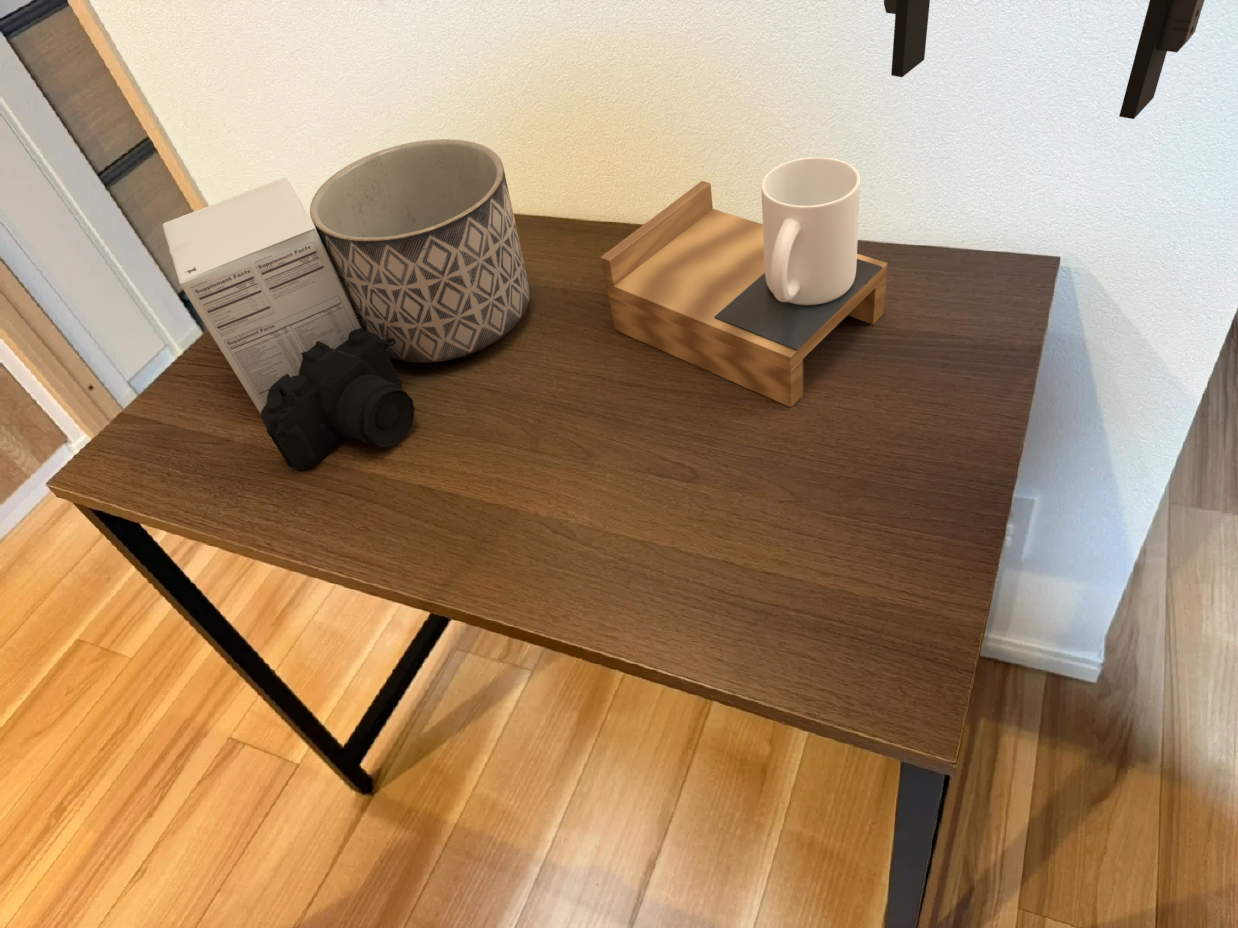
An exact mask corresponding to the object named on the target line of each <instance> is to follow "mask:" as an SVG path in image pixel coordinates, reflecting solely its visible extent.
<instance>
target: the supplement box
mask: <svg viewBox="0 0 1238 928" xmlns="http://www.w3.org/2000/svg"><path fill="white" fill-rule="evenodd" d="M162 229H163V232H164V236H165V238H166V239H165V240H166V242H167V245H168V249H169V254H170V255H171V259H172V262H173V265H174V269H175V272H176V276H177V279H178V283H179V285H180V287H181V288H182V290H183V292H184V294H185V295H186V297H187V298H188V300H189V301H190V303H191V305H192V306H193V308H194V310H195V311H196V313H197V314H198V317H199V318H200V319H201V321H202V323H203V324H204V326H205V327H206V329H207V331H208V332H209V334H210V335H211V337H212V339H213V340H214V342H215V343H216V345H217V346H218V348H219V350H220V351H221V352H222V354H223V356H224V357H225V359H226V361H227V362H228V364H229V366H230V367H231V369H232V371H233V372H234V374H235V375H236V377H237V378H238V380H239V382H240V383H241V385H242V386H243V389H244V390H245V391H246V393H247V395H248V396H249V397H250V400H251V401H252V403H253V405H254V406H255V408H256V410H257V411H258V412H259V415H261V411H262V409H263V408H264V406H265V405H266V401H267V395H268V392H269V389H270V388H271V386H272V385H273V384H274V383H276V382H277V381H278V380H279V379H280V378H281V377H283V376H284V375H286V374H288V375H289V376H290V377H292V376H296V375H299V370H300V366H301V363H302V359H303V357H302V355H301V353H303V352H304V351H305V352H307V351H308V350H309V349H311V348H312V347H313V346H314V345H315V344H316V342H317V341H319V342H322V343H324V344H326V345H328V346H329V347H330V348H333V349H336V348H337V347H338V346H339V345H341V344H343V343H344V342H345V341H347V340H348V336H349V334H350V332H351V331H353V330H355V329H360V328H362V327H361V324H360V322H359V320H358V318H357V316H356V314H355V312H354V309H353V307H352V305H351V303H350V301H349V299H348V296H347V294H346V292H345V290H344V288H343V286H342V284H341V281H340V279H339V277H338V275H337V273H336V271H335V269H334V266H333V264H332V262H331V260H330V258H329V256H328V254H327V251H326V249H325V247H324V245H323V243H322V241H321V238H320V236H319V234H318V232H317V230H316V228H315V226H314V223H313V221H312V219H311V216H310V215H309V213H308V212H307V210H306V208H305V206H304V204H303V203H302V201H301V199H300V198H299V196H298V194H297V192H296V191H295V189H294V187H293V186H292V184H291V182H290V181H289V180H288V178H287V177H282V178H280V179H277V180H274V181H271V182H269V183H266V184H264V185H263V184H262V185H261V186H259V187H256V188H253V189H250V190H248V191H245V192H243V193H240V194H237V195H235V196H232V197H229V198H227V199H224V200H221V201H218V202H216V203H213V204H211V205H208V206H205V207H202V208H200V209H198V210H194V211H192V212H189V213H187V214H183V215H182V216H179V217H176V218H174V219H171V220H169V221H166V222H163V224H162Z"/></svg>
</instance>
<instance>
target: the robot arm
mask: <svg viewBox="0 0 1238 928" xmlns="http://www.w3.org/2000/svg"><path fill="white" fill-rule="evenodd" d="M930 4H931V0H883V6H884V10H885V13H886V14H892V15H894V28H893V29H894V30H893V42H892V43H893V44H892V57H891V58H892V59H891V70H890V71H891V73H890V76H891V77H898V78H903V77H904V76H906V75H907V74H908V73H910V72H911V71H912V70H913V69H915V68H916V67H918V65H920V64H921V63H922V62H924V61H925V57H926V48H927V38H928V37H927V36H928V35H927V34H928V25H929V15H930V14H929V13H930ZM1204 5H1205V0H1149V1H1148V6H1147V10H1146V13H1145V18H1144V21H1143V24H1142V28H1141V32H1140V36H1139V39H1138V44H1137V47H1136V51H1135V56H1134V59H1133V62H1132V66H1131V70H1130V74H1129V78H1128V81H1127V85H1126V89H1125V93H1124V97H1123V100H1122V104H1121V109H1120V111H1119V116H1118V117H1119V118H1125V119H1129V120H1130V119H1131V120H1135V119H1136V118H1137V116H1138V115H1139V114H1141V113H1142V111H1143V110H1144V109H1145V108H1146V107H1147V106H1148V105H1149V104H1150V102H1152V101H1153V99H1155V95H1156V91H1157V88H1158V84H1159V81H1160V78H1161V74H1162V71H1163V67H1164V64H1165V60H1166V57H1167V54H1168V53H1169V52H1171V53H1178V52H1180V51H1181V49H1182V48H1183V47H1184V46H1185V45H1186V44H1187V43H1188V42H1189V40H1191V38H1192V36H1193V35H1194V34H1195V32H1196V30H1197V28H1198V27H1197V26H1198V23H1199V20H1200V16H1201V13H1202V10H1203V7H1204Z"/></svg>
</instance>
